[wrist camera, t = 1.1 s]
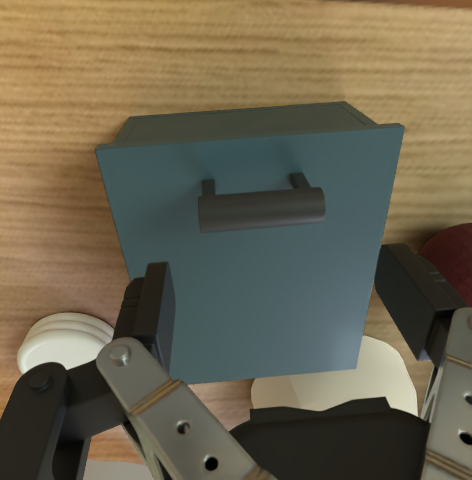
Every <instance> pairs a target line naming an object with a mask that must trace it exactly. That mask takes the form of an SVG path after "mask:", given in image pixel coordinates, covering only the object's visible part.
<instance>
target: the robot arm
mask: <svg viewBox="0 0 472 480" xmlns="http://www.w3.org/2000/svg"><path fill="white" fill-rule="evenodd" d="M374 284H375V289H376V291H377V294H378V295H379V297H380V299H381V300H382V302H383V304H384V305H385V307H386V309H387V310H388V312H389V314H390V316H391V317H392V319H393V321H394V322H395V324H396V326H397V327H398V329H399V331H400V332H401V334H402V336H403V337H404V339H405V341H406V343H407V344H408V346H409V348H410V349H411V351H412V353H413V354H414V356H415V358H416V359H417V361H424V360H431V361H432V362H433V364H434V366H433V369H432V372H431V376H430V380H429V384H428V388H427V392H426V396H425V400H424V404H423V408H422V412H421V415H420V417H418V416H416V415H413V414H411V413H409V412H406V411H403V410H399V409H396V408H391V407H390V405H389V403H388V401H387V398H386V396H385V397H374V398H363V399H353V400H350V401H347V402H345V403H342V404H339V405H337V406H334V407H331V408H329V409H326V410H323V411H314V410H307V409H300V408H293V407H287V406H278V407H268V408H257V409H250V420H249V421H246V422H244V423H242V424H240V425H238V426H236V427H235V428H233V429H232V430H230V431H229V432H228V431H227V430H226V429H225V427H224V426H223V425H222V424H221V423H220V422H219V421H218V420H217V418H216V417H215V416H214V415H213V414H212V413H211V412H210V411H209V409H208V408H207V407H206V406H205V405H204V404H203V403H202V402H201V400H200V399H199V398H198V397H197V396H196V395H195V394H194V393H193V391H192V390H191V389H190V388H189V387H188V386H187V385H186V384H185V383H184V382H183V381H182V380H181V379H177V380H175V381H174V380H173V379H172V378H171V377H170V376H169V371H170V361H171V351H172V341H173V331H174V321H175V310H176V299H175V291H174V286H173V280H172V275H171V270H170V265H169V262H156V263H148V265H147V269H146V274H145V277H138V278H134V279H133V280H132V281H131V283H130V284H129V285H128V286H127V287H126V291H125V294H124V300H123V301H122V305H121V309H120V312H119V316H118V319H117V323H116V326H115V330H114V334H113V337H112V341H111V342H109V343H108V344H106V345H105V346H104V347H103V348H102V349H101V350H100V352H99V353H98V355H97V358H96V359H94V360H92V361H90V362H88V363H85V364H82V365H79V366H76V367H74V368H71V369H68V370H66V368H65V367H64V366H63V365H62V364H60V363H57V362H46V363H42V364H39V365H37V366H35V367H33V368H31V369H30V370H28V371H27V372H26V373H24V374H23V375H22V376H21V377H20V379H19V380H18V381H17V383H16V385H15V387H14V389H13V392H12V394H11V396H10V399H9V401H8V403H7V405H6V408H5V410H4V412H3V415H2V417H1V419H0V480H83V476H84V471H85V466H86V461H87V456H88V451H89V447H90V442H91V437H92V436H94V435H96V434H98V433H101V432H103V431H106V430H108V429H111V428H113V427H115V426H118V425H120V424H121V426H122V427H123V429H124V430H125V432H126V434H127V435H128V437H129V438H130V440H131V441H132V443H133V445H134V446H135V448H136V449H137V451H138V452H139V454H140V456H141V457H142V459H143V460H144V462H145V463H146V465H147V467H148V468H149V470H150V472H151V474H152V476H153V478H154V480H472V308H470V306H469V305H468V304H467V303H466V302H465V301H464V300H463V298H462V297H461V296H460V295H459V294H458V293H457V291H456V290H455V289H454V288H453V287H452V286H451V285H450V283H449V282H446V279H445V278H444V277H443V275H442V274H440V272H439V271H438V270H437V269H436V267H435V266H434V265H433V264H432V263H431V262H429V261H428V260H426V259H425V258H423V257H421V256H420V255H414V254H413V253H412V252H411V250H410V249H409V248H408V247H407V246H406V245H405V244H404V243H397V244H385V245H382V246H381V248H380V251H379V256H378V261H377V266H376V271H375V276H374Z"/></svg>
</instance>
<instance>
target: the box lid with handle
mask: <svg viewBox="0 0 472 480" xmlns="http://www.w3.org/2000/svg"><path fill="white" fill-rule="evenodd" d="M404 129H405V127H404V126H403V125H401V124H399V123H391V124H378V125H364V126H350V127H336V128H322V129H308V130H295V131H281V132H267V133H253V134H239V135H226V136H212V137H198V138H184V139H170V140H156V141H143V142H129V143H115V144H101V145H98V146H97V147H96V148H95V153H96V157H97V160H98V164H99V168H100V171H101V175H102V179H103V183H104V186H105V190H106V194H107V197H108V201H109V205H110V208H111V212H112V216H113V219H114V223H115V227H116V230H117V234H118V238H119V241H120V245H121V249H122V252H123V256H124V260H125V263H126V267H127V271H128V274H129V278H130V282H131V281H132V280H133V279H134V278H138V277H145V274H146V269H147V265H148V263H156V262H169V265H170V270H171V275H172V280H173V286H174V291H175V299H176V310H175V321H174V331H173V341H172V351H171V361H170V371H169V376H170V377H171V378H172V379H173V380H174V381H175V380H177V379H181V380H182V381H183V382H184V383H185V384H186V385H190V384H200V383H211V382H222V381H233V380H243V379H254V378H265V377H276V376H286V375H297V374H308V373H318V372H329V371H340V370H351V369H356V366H357V361H358V356H359V351H360V346H361V341H362V336H363V331H364V326H365V321H366V316H367V312H368V307H369V302H370V297H371V292H372V287H373V282H374V276H375V271H376V266H377V261H378V256H379V251H380V247H381V243H382V238H383V233H384V228H385V223H386V218H387V213H388V208H389V203H390V198H391V193H392V188H393V183H394V178H395V174H396V169H397V164H398V159H399V154H400V149H401V144H402V139H403V134H404Z"/></svg>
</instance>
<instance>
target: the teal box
mask: <svg viewBox="0 0 472 480" xmlns="http://www.w3.org/2000/svg"><path fill="white" fill-rule="evenodd" d="M364 125H378V124H377V123H375V122H374V121H372V120H371V119H370V118H368V117H367V116H365V115H364V114H363V113H361V112H360V111H358V110H357V109H356V108H354V107H353V106H351V105H350V104H348V103H347V102H332V103H318V104H303V105H289V106H275V107H261V108H246V109H232V110H218V111H204V112H189V113H175V114H161V115H147V116H132V117H129V119H128V120H127V121H126V123H125V124H124V126H123V128H122V129H121V131H120V132H119V134H118V135H117V137H116V138H115V140H114V141H113V143H112V144H115V143H129V142H143V141H156V140H170V139H184V138H198V137H212V136H226V135H239V134H253V133H267V132H281V131H295V130H308V129H322V128H336V127H350V126H364Z"/></svg>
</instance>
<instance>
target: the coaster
mask: <svg viewBox="0 0 472 480" xmlns="http://www.w3.org/2000/svg"><path fill="white" fill-rule="evenodd" d="M113 334H114V329H113V328H112V327H111V326H110V325H108V324H107V323H105V322H104V321H102V320H100V319H98V318H95V317H93V316H89V315H86V314H81V313H70V312H66V313H57V314H53V315H49V316H47V317H44V318H42V319H41V320H39V321H38V322H36V323H35V324H34V325H33V326H32V327H31V329H30V330H29V332H28V334H27V336H26V338H25V339H24V341H23V344H22V345H21V347H20V348H19V351H18V355H17V364H18V368H19V370H20V372H21V373H22V374H24V373H26V372H27V371H28V370H30V369H31V368H33V367H35V366H37V365H39V364H42V363H46V362H57V363H60V364H62V365H63V366H64V367H65V368H66V370H68V369H71V368H74V367H76V366H79V365H82V364H85V363H88V362H90V361H92V360H94V359H96V358H97V355H98V353H99V352H100V350H101V349H102V348H103V347H104V346H105V345H106V344H108V343H109V342H111V341H112V337H113Z"/></svg>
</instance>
